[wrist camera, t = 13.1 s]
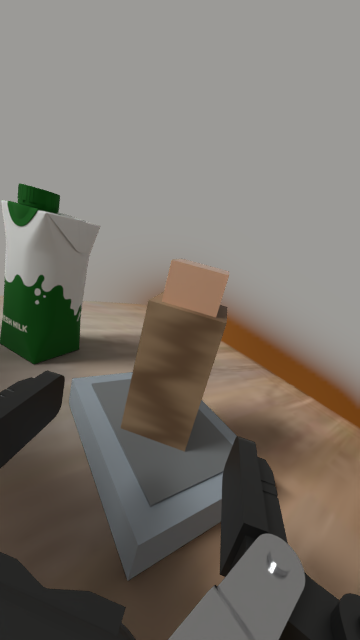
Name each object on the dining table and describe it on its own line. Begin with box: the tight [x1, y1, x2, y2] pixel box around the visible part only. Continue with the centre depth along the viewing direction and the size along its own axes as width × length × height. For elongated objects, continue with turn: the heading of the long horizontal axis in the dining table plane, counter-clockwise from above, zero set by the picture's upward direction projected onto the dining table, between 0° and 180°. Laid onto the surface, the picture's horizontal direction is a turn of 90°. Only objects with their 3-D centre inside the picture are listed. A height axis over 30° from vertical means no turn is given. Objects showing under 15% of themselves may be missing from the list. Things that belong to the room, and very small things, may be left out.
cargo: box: [162, 259, 229, 317], centre depth 19 cm, size 4×4×3 cm
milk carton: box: [0, 184, 100, 364], centre depth 32 cm, size 9×9×20 cm
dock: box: [69, 372, 237, 580], centre depth 23 cm, size 16×12×3 cm
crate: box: [121, 292, 227, 452], centre depth 21 cm, size 6×6×11 cm
